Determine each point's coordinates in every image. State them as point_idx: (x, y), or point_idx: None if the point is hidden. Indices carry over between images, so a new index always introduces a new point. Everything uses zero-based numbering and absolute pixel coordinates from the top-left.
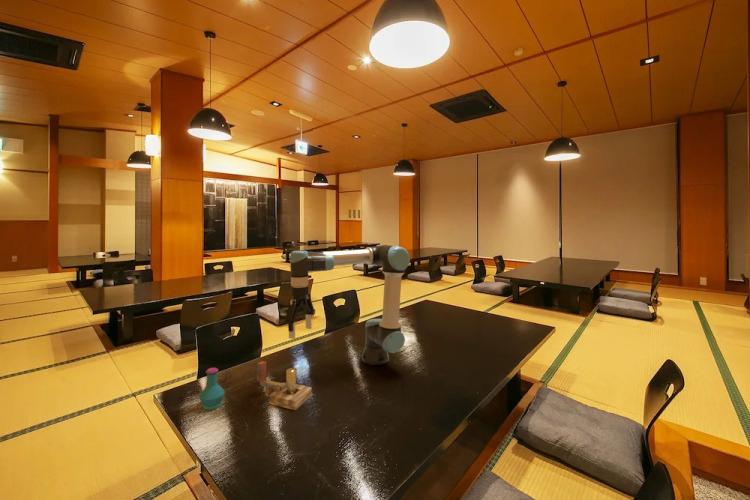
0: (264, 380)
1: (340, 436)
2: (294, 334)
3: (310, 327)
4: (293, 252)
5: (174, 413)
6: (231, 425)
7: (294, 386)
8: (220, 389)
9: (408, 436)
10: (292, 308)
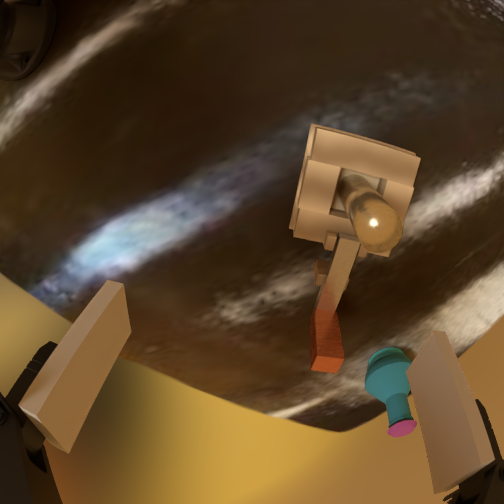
0: (323, 310)
1: (484, 14)
2: (456, 362)
3: (116, 297)
4: None
5: (409, 391)
6: (467, 285)
7: (373, 188)
8: (395, 376)
9: None
10: None
